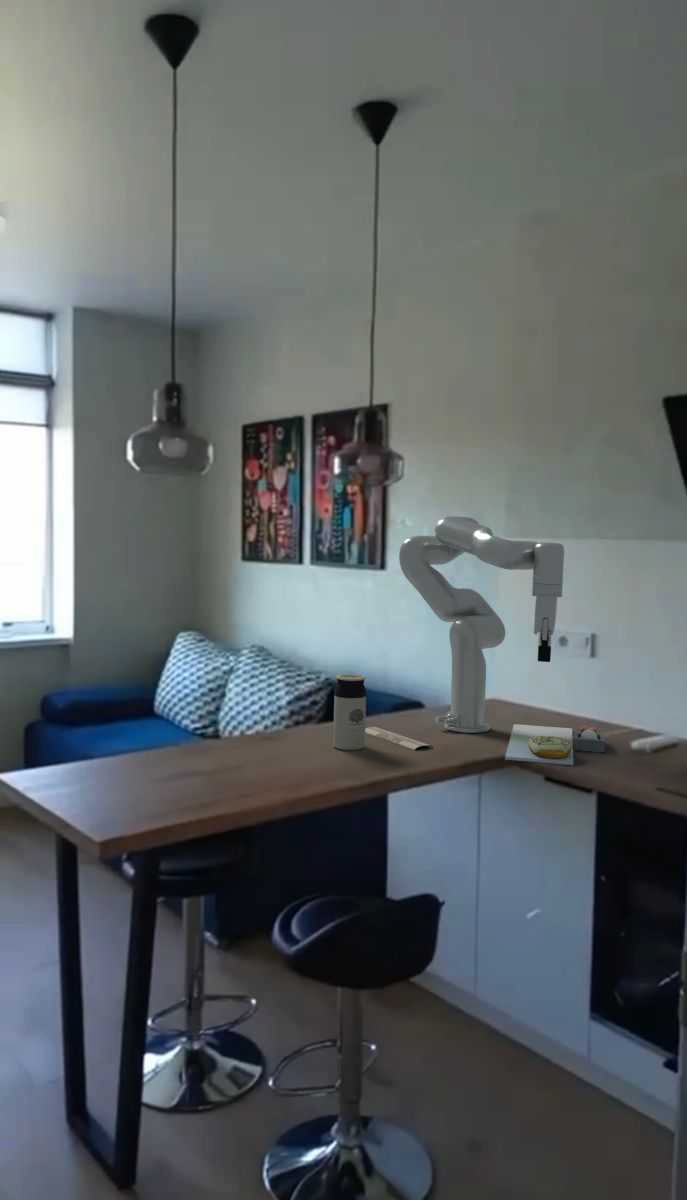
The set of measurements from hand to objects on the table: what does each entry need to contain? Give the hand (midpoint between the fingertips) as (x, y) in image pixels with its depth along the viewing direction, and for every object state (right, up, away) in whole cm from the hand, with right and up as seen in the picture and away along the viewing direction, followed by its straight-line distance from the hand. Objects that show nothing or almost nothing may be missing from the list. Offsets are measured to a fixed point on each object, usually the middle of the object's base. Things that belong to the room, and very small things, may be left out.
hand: (544, 661), depth 232 cm
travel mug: (-51, -21, -6) cm, 55 cm away
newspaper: (-39, -22, +3) cm, 44 cm away
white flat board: (0, -22, +2) cm, 22 cm away
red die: (+13, -22, +6) cm, 26 cm away
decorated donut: (-1, -22, -12) cm, 25 cm away
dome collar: (+11, -22, -1) cm, 25 cm away
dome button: (+11, -22, -1) cm, 25 cm away
